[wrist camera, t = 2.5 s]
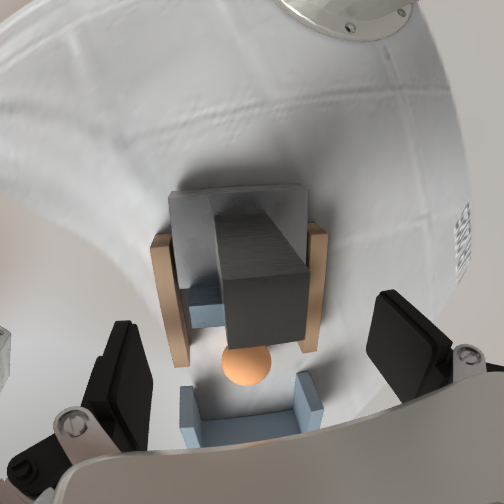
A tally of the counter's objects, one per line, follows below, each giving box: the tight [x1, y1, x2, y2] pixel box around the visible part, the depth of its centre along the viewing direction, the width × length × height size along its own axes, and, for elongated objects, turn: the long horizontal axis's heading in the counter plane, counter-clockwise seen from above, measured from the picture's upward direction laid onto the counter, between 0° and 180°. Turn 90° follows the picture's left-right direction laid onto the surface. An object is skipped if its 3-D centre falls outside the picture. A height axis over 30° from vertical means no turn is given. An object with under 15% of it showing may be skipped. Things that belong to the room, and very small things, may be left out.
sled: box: [168, 184, 311, 350], centre depth 16 cm, size 8×8×10 cm
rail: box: [150, 223, 328, 368], centre depth 22 cm, size 10×11×2 cm
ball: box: [221, 346, 271, 386], centre depth 23 cm, size 4×4×4 cm
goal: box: [180, 372, 324, 449], centre depth 26 cm, size 7×12×5 cm, turn 91°
